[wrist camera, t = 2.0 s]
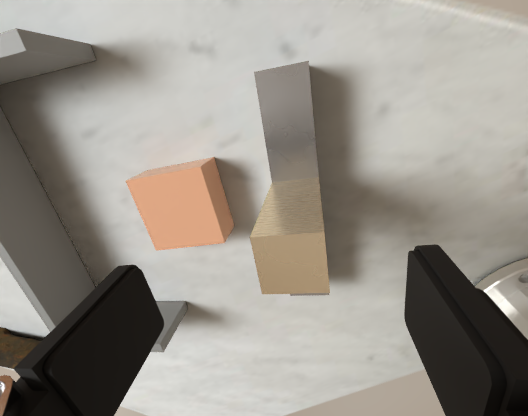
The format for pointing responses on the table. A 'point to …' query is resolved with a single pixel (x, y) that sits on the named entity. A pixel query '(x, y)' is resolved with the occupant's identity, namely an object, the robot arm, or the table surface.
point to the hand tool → (14, 348)
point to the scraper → (290, 188)
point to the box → (45, 199)
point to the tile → (183, 204)
